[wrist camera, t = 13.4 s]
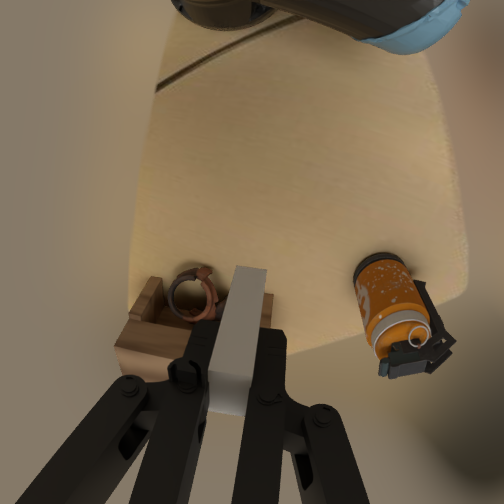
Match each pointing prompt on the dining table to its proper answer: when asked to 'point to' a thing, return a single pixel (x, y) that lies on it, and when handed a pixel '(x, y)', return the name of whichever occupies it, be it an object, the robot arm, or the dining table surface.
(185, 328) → the hutch
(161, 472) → the robot arm
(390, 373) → the canister
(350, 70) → the dining table surface
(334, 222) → the dining table surface
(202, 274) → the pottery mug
